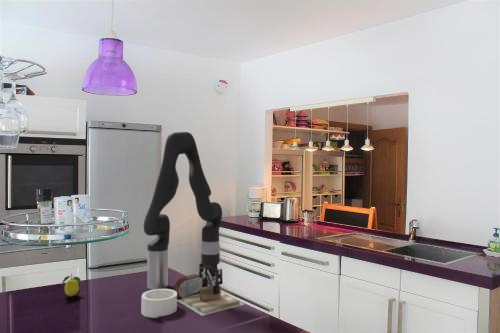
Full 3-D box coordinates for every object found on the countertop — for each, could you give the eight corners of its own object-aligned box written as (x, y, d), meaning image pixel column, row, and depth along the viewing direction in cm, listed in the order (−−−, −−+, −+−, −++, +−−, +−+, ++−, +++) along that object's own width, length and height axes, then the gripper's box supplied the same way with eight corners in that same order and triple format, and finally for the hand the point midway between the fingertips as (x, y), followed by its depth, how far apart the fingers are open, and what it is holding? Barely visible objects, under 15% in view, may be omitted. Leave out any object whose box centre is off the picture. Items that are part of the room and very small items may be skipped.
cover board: (181, 300, 162) (181, 285, 162) (216, 292, 172) (216, 278, 172) (203, 313, 148) (203, 297, 148) (239, 303, 159) (239, 288, 159)
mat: (176, 301, 162) (176, 300, 162) (217, 292, 174) (217, 291, 174) (201, 317, 146) (201, 315, 146) (244, 305, 159) (244, 304, 159)
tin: (199, 290, 177) (199, 271, 177) (204, 292, 175) (204, 273, 175) (173, 299, 165) (173, 279, 165) (178, 301, 163) (178, 280, 163)
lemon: (61, 299, 163) (61, 275, 163) (63, 295, 169) (63, 272, 169) (79, 298, 165) (79, 274, 165) (80, 293, 171) (80, 270, 171)
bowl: (136, 309, 153) (136, 293, 153) (167, 302, 161) (167, 286, 161) (150, 320, 143) (150, 302, 143) (182, 312, 151) (182, 295, 151)
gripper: (193, 250, 163) (193, 289, 163) (211, 256, 152) (211, 298, 152) (209, 247, 168) (209, 285, 168) (227, 253, 156) (227, 294, 156)
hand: (210, 291), depth 160 cm, fingers open, 8 cm apart
